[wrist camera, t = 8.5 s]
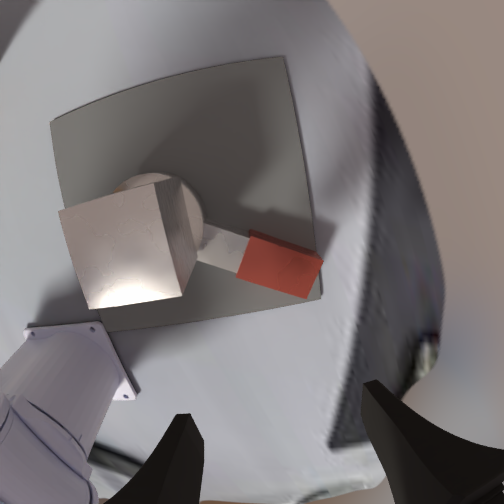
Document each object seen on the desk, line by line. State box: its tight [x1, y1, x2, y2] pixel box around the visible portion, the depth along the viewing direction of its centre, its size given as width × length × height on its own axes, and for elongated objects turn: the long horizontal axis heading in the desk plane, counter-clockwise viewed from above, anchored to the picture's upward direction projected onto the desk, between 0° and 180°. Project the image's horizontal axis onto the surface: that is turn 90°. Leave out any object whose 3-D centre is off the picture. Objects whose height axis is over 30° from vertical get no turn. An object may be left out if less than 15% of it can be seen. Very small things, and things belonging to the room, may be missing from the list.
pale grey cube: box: [58, 176, 198, 310], centre depth 14 cm, size 5×5×5 cm
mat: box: [50, 57, 321, 332], centre depth 18 cm, size 16×16×1 cm
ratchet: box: [113, 172, 323, 299], centre depth 16 cm, size 13×6×5 cm, turn 70°
